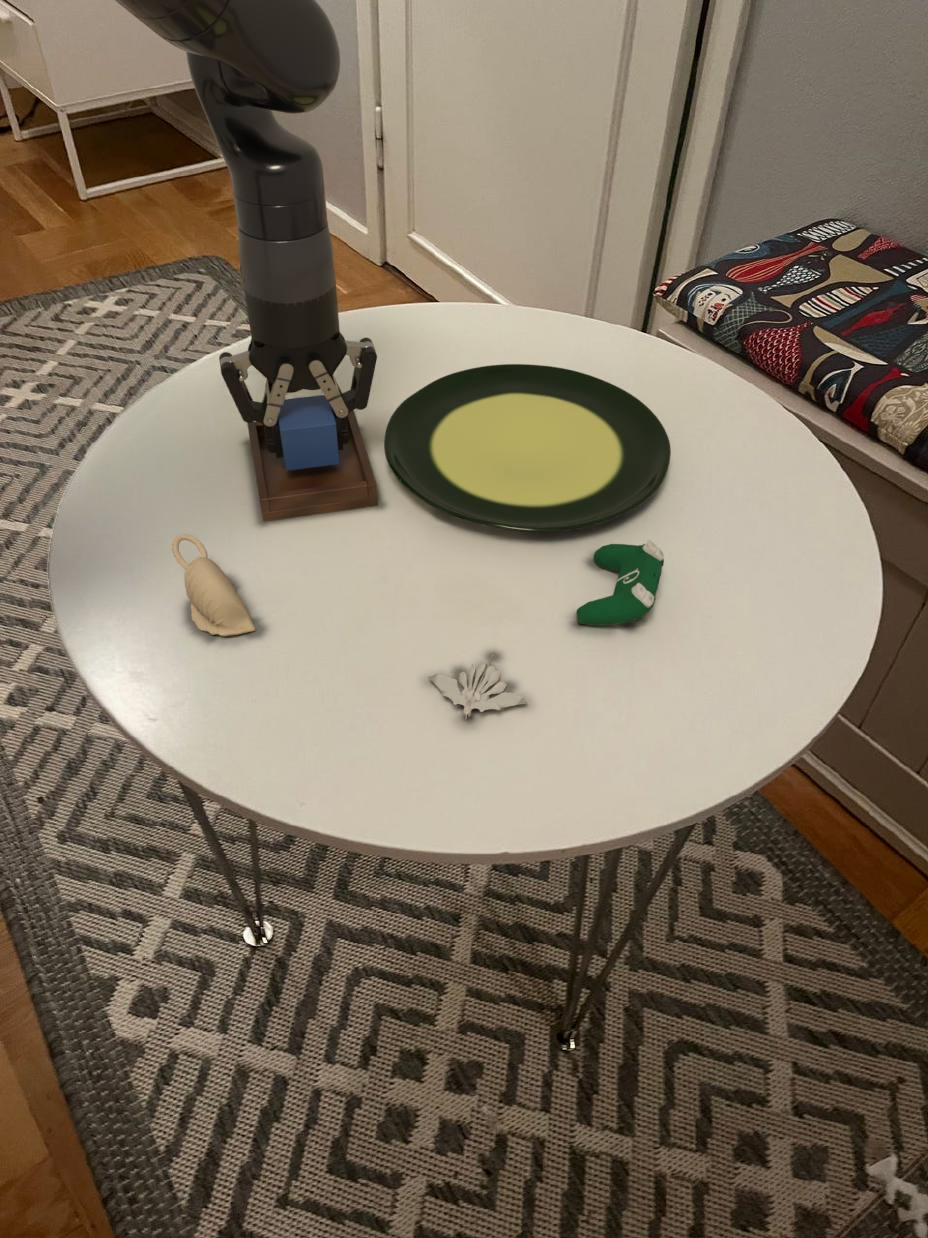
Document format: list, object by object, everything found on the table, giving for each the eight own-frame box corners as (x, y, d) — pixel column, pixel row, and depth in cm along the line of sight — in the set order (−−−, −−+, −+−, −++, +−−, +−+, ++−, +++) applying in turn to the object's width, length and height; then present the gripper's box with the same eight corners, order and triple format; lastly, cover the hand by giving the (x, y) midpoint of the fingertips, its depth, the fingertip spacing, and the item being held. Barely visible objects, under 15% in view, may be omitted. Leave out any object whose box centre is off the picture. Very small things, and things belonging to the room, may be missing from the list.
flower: (446, 652, 77) (448, 625, 76) (541, 676, 76) (545, 649, 74) (414, 710, 72) (415, 682, 70) (516, 737, 70) (520, 709, 68)
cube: (286, 471, 88) (280, 430, 85) (280, 440, 92) (274, 400, 88) (339, 464, 89) (336, 423, 86) (331, 434, 93) (327, 393, 89)
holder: (263, 521, 87) (259, 500, 85) (250, 443, 96) (247, 422, 94) (377, 505, 89) (376, 484, 87) (355, 430, 97) (353, 409, 96)
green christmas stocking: (597, 648, 79) (657, 624, 75) (569, 618, 78) (629, 592, 74) (618, 576, 85) (674, 551, 82) (592, 547, 84) (648, 520, 80)
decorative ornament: (208, 649, 76) (196, 601, 72) (176, 585, 81) (163, 537, 77) (256, 632, 77) (247, 584, 73) (222, 570, 82) (212, 522, 78)
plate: (453, 583, 82) (453, 562, 80) (345, 414, 99) (343, 394, 98) (724, 504, 90) (729, 483, 88) (580, 361, 108) (582, 341, 106)
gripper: (202, 307, 74) (235, 483, 86) (383, 290, 77) (391, 462, 89) (197, 265, 79) (229, 436, 91) (367, 249, 82) (376, 418, 94)
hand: (309, 448), depth 90 cm, fingers closed on cube, 5 cm apart
